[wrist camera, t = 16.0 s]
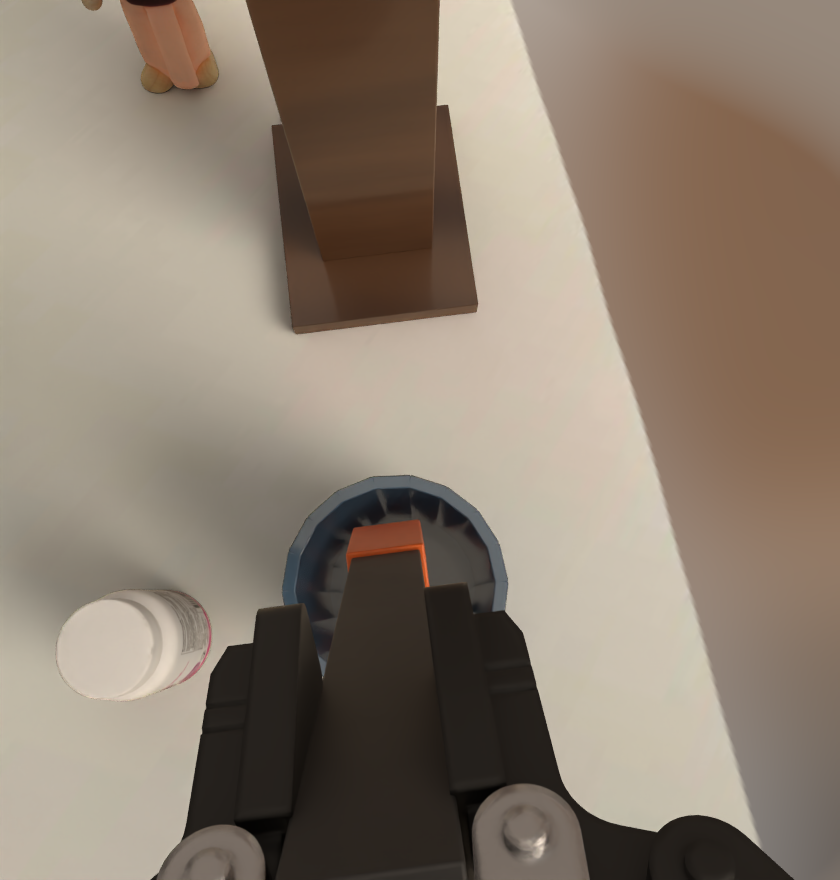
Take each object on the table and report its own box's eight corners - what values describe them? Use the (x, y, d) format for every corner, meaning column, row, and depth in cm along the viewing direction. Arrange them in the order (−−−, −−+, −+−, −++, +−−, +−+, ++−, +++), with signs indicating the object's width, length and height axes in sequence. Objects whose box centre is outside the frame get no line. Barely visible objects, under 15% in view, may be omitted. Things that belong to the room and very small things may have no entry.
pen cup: (311, 661, 40) (265, 687, 29) (336, 499, 42) (302, 460, 30) (472, 683, 40) (493, 720, 28) (491, 519, 42) (518, 489, 30)
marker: (518, 1145, 7) (490, 911, 7) (270, 1182, 7) (235, 946, 7) (428, 584, 27) (419, 518, 27) (361, 593, 27) (352, 527, 27)
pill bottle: (138, 702, 40) (63, 729, 32) (108, 612, 41) (28, 615, 33) (227, 664, 40) (177, 681, 32) (196, 575, 41) (139, 570, 33)
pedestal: (477, 316, 44) (617, -394, 12) (296, 338, 44) (-29, -327, 12) (446, 112, 46) (499, -914, 15) (274, 133, 46) (-43, -866, 15)
